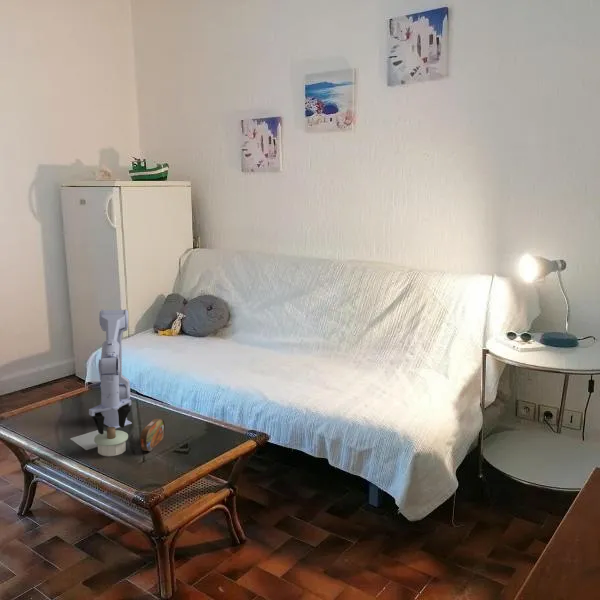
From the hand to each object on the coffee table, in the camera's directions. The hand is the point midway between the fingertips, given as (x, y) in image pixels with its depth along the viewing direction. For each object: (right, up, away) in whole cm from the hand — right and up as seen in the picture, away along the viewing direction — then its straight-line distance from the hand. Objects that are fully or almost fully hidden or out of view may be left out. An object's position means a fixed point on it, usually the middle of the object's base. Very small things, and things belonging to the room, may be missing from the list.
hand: (111, 429), depth 200 cm
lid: (0, -3, +1) cm, 3 cm away
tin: (+12, -7, +7) cm, 16 cm away
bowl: (0, -8, +2) cm, 8 cm away
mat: (-9, -6, +9) cm, 14 cm away
